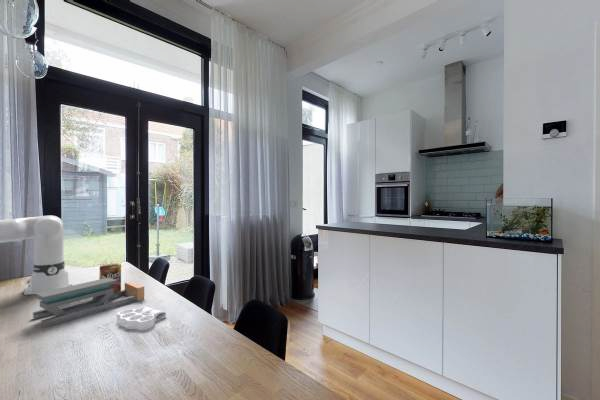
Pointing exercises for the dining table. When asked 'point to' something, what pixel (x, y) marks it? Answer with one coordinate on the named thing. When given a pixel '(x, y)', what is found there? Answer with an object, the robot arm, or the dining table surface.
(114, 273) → the candy box
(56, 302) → the sharpening stone
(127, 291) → the end stop
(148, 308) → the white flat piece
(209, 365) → the dining table surface
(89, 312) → the guide track
